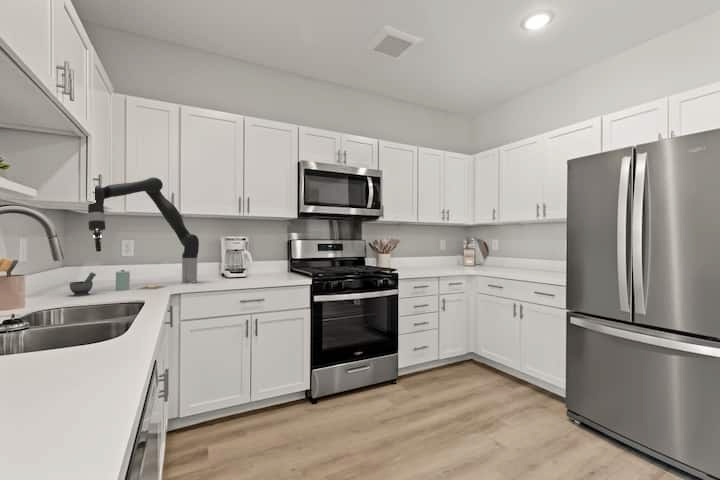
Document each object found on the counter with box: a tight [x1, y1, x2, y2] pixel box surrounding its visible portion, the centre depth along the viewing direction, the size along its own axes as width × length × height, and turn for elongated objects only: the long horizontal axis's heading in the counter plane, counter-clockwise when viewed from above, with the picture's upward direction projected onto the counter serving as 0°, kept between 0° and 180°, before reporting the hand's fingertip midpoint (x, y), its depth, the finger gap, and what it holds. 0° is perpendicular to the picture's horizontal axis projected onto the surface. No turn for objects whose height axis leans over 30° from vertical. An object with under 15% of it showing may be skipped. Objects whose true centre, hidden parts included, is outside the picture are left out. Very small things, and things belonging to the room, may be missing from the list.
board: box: [138, 285, 167, 290], centre depth 206 cm, size 13×11×1 cm
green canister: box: [115, 269, 131, 291], centre depth 197 cm, size 6×6×12 cm
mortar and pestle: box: [69, 272, 97, 297], centre depth 183 cm, size 11×9×12 cm
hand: (98, 250), depth 192 cm, fingers open, 8 cm apart
